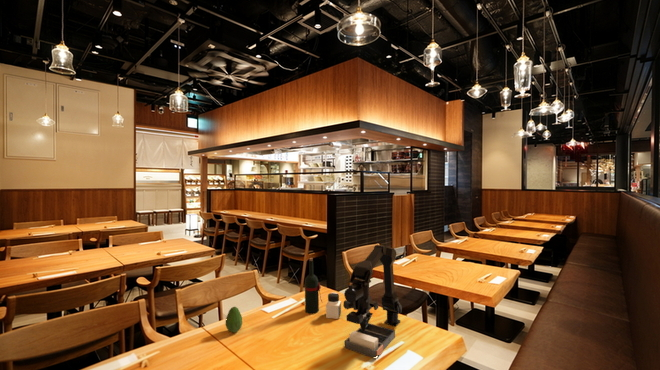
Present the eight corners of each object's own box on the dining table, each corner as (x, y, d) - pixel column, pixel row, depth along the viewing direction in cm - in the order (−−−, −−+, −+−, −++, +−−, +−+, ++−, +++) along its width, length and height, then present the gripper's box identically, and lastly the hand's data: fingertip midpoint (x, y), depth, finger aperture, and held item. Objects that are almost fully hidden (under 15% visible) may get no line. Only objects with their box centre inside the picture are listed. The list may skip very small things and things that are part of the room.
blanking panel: (354, 341, 130) (353, 330, 130) (378, 350, 123) (378, 338, 123) (349, 345, 126) (349, 334, 126) (374, 354, 120) (374, 342, 120)
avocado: (237, 326, 147) (237, 302, 147) (245, 331, 142) (244, 307, 142) (222, 331, 142) (222, 307, 142) (229, 337, 136) (229, 312, 136)
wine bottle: (322, 313, 160) (321, 260, 160) (304, 314, 160) (303, 260, 160) (323, 307, 168) (322, 256, 168) (305, 308, 168) (304, 256, 168)
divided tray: (366, 328, 143) (366, 322, 143) (395, 337, 134) (395, 330, 134) (344, 347, 126) (344, 340, 126) (376, 359, 117) (376, 352, 117)
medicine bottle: (339, 319, 153) (338, 296, 153) (326, 318, 154) (325, 295, 154) (341, 313, 160) (340, 291, 160) (328, 312, 161) (328, 291, 161)
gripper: (357, 285, 137) (357, 317, 137) (335, 298, 122) (336, 334, 122) (378, 289, 131) (379, 323, 131) (358, 303, 115) (359, 342, 115)
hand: (363, 330), depth 125 cm, fingers closed
